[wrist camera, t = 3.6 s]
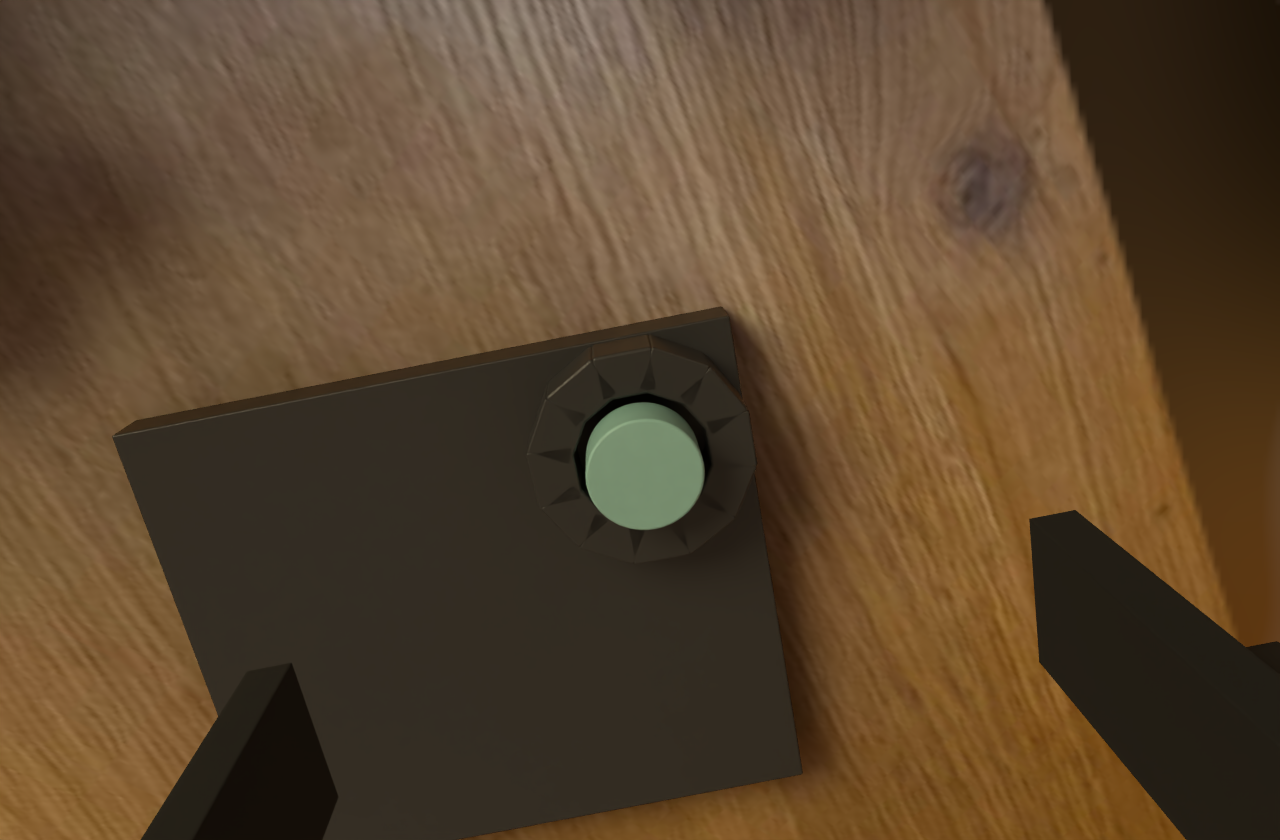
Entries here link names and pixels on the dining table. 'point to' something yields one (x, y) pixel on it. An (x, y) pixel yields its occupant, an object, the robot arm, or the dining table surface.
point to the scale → (483, 581)
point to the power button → (644, 466)
